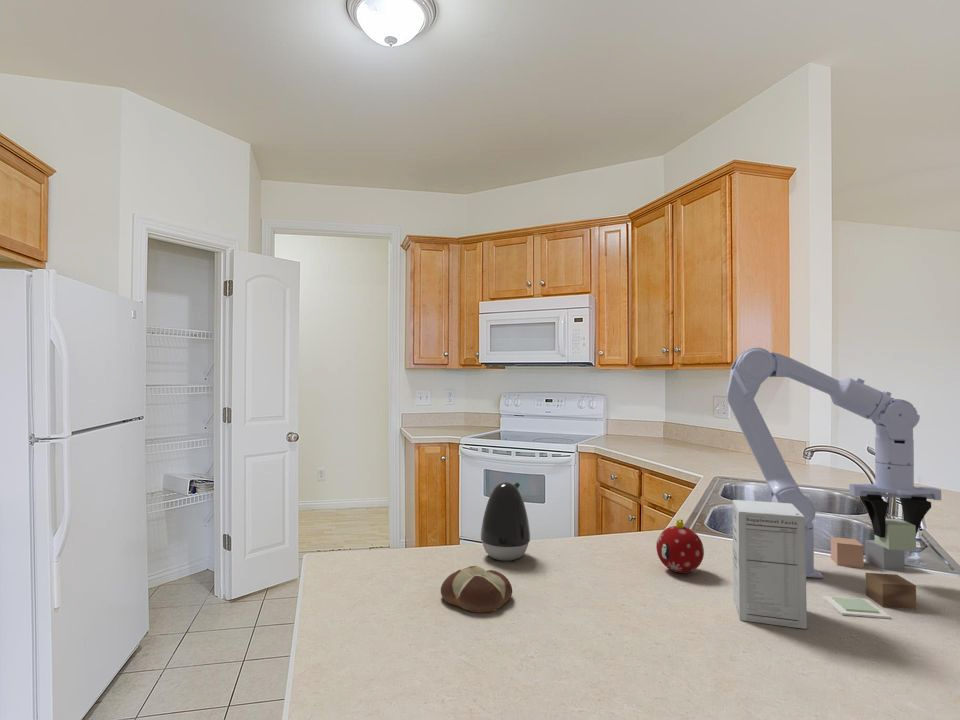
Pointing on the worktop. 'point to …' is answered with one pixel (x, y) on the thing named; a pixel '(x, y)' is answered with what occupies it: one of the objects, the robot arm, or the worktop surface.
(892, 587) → the walnut base block
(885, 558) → the slate grey block
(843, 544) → the terracotta block
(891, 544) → the sage block
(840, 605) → the swatch
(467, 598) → the bread
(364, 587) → the worktop surface
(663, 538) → the christmas ornament
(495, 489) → the black egg-shaped figure
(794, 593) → the supplement box
